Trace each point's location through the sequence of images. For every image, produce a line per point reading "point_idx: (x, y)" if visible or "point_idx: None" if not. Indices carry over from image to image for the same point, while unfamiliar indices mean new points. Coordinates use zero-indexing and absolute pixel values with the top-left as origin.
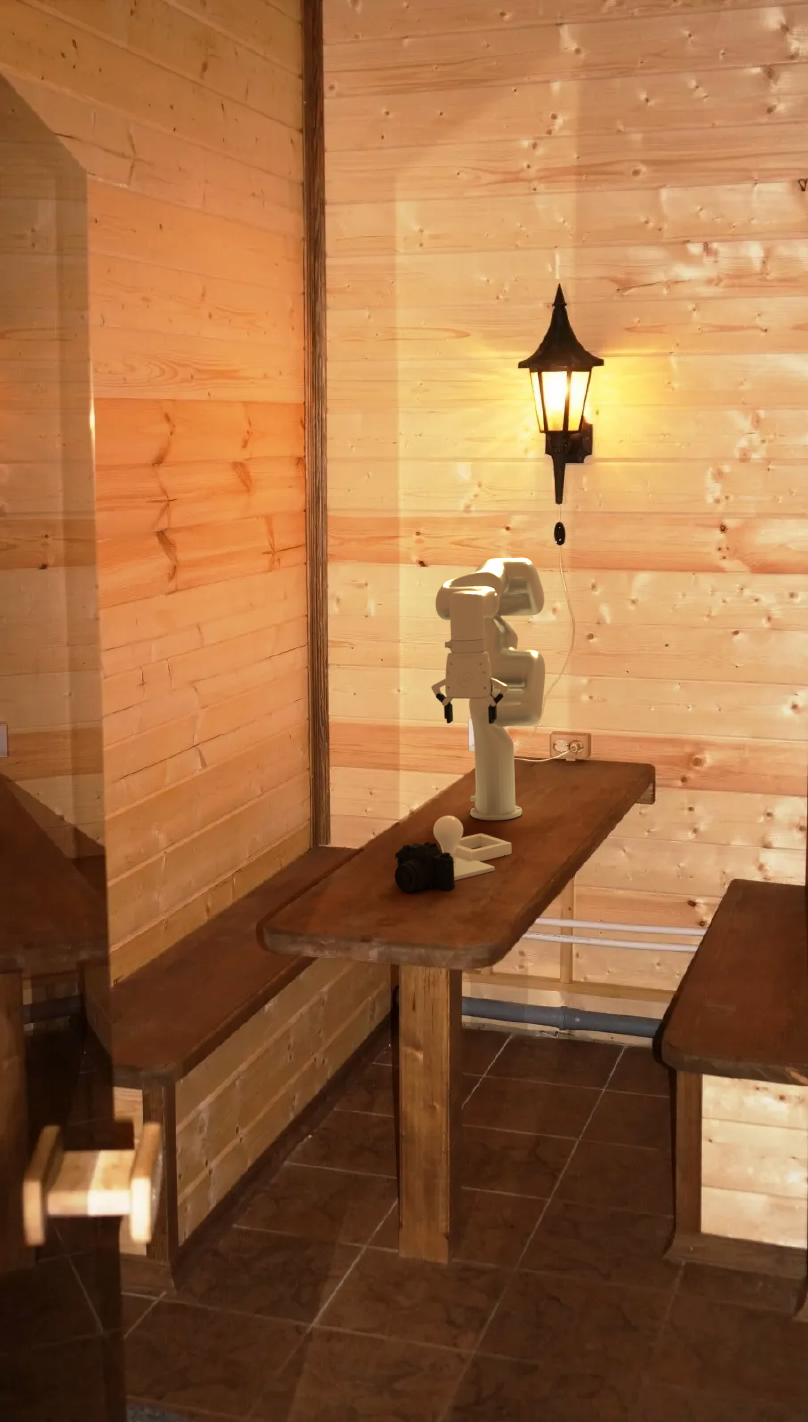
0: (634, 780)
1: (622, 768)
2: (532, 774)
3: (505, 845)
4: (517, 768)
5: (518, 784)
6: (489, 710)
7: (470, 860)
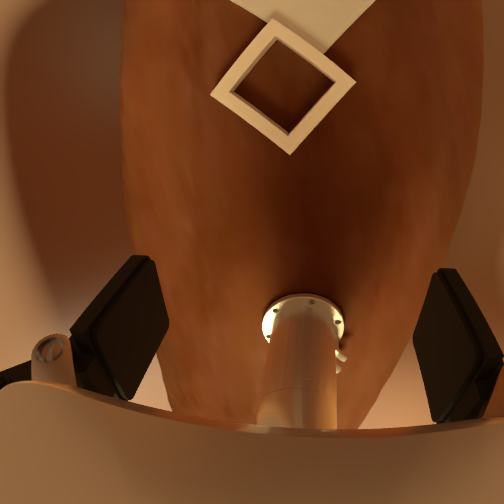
0: None
1: None
2: None
3: (219, 82)
4: None
5: None
6: (98, 310)
7: (275, 17)
